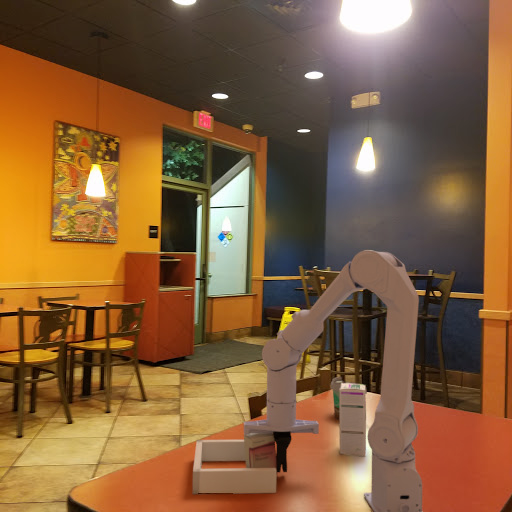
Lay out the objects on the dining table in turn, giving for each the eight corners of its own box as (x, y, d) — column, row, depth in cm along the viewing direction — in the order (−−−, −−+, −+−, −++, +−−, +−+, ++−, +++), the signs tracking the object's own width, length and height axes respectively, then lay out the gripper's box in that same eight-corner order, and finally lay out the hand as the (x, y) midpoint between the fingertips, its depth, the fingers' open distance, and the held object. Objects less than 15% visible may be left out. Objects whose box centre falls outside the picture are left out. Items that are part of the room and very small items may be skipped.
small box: (254, 481, 95) (251, 439, 95) (246, 473, 99) (243, 433, 99) (278, 475, 97) (275, 434, 97) (269, 467, 101) (266, 428, 101)
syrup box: (366, 457, 109) (366, 389, 109) (338, 454, 110) (339, 387, 111) (365, 447, 115) (366, 383, 115) (339, 445, 116) (340, 382, 116)
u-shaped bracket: (276, 492, 91) (276, 470, 91) (192, 494, 90) (192, 471, 90) (267, 458, 107) (267, 439, 107) (196, 459, 106) (196, 439, 106)
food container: (321, 413, 141) (321, 377, 141) (339, 411, 144) (340, 376, 144) (347, 426, 130) (347, 387, 130) (366, 424, 132) (367, 385, 133)
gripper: (314, 394, 103) (313, 461, 102) (243, 395, 102) (242, 462, 101) (321, 404, 96) (320, 476, 95) (245, 404, 95) (244, 477, 94)
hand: (280, 470), depth 98 cm, fingers closed, pressing on small box
